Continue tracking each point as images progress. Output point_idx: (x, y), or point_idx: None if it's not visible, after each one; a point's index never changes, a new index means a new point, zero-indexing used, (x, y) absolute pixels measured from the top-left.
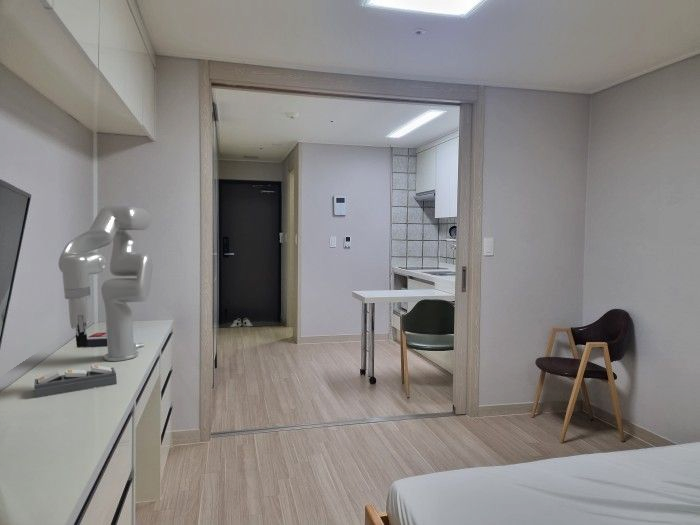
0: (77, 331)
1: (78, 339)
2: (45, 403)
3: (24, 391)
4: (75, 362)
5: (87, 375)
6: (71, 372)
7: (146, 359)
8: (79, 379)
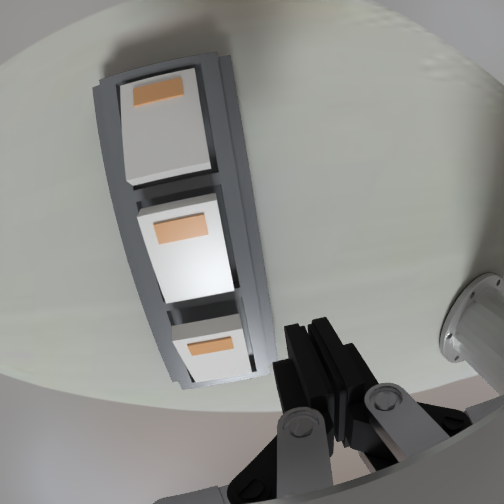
0: (280, 469)
1: (300, 383)
2: (29, 158)
3: (219, 30)
4: (498, 191)
5: None
6: (158, 240)
7: (410, 387)
8: (139, 267)
